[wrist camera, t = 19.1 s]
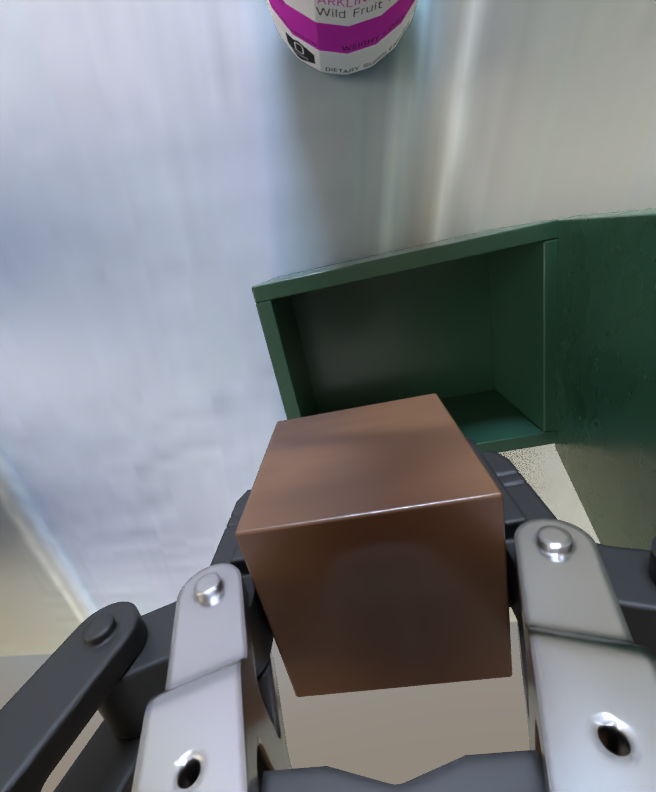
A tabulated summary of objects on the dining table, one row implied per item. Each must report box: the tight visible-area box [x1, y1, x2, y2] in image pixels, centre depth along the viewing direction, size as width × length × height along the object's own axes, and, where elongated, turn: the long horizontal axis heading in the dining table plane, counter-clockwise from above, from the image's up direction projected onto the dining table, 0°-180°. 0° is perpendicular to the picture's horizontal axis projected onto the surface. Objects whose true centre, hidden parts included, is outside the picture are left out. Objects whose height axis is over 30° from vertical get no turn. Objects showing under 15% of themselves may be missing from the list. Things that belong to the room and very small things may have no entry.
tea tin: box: [252, 219, 559, 453], centre depth 23 cm, size 15×12×8 cm
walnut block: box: [235, 393, 512, 697], centre depth 9 cm, size 5×5×5 cm
